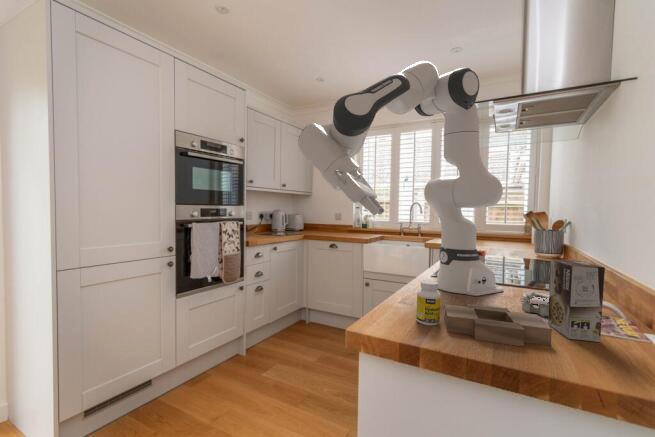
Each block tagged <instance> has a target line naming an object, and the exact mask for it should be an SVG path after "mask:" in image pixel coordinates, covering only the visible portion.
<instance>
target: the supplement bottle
mask: <svg viewBox="0 0 655 437" xmlns="http://www.w3.org/2000/svg"><path fill="white" fill-rule="evenodd" d="M438 290H439V288H438V282H436V281H435V280H430V279H429V280H427V279H426V280H421V281H420V289H419V290H417V293H416V295H417V297H416V315H415V316H416V321H417V323H420V324H421V325H424V326H438V325H439V324H440V317H441V302H442V301H441V300H442V299H441V298H442V295H441V293H440V291H438Z"/></svg>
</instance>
